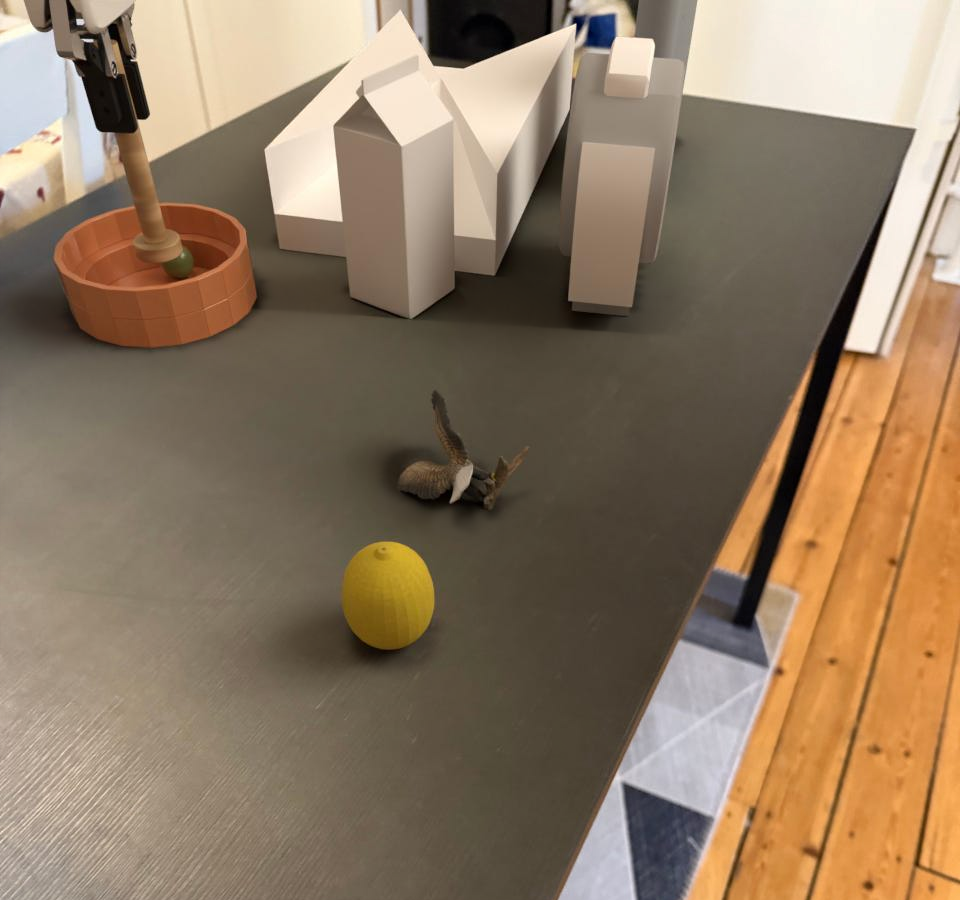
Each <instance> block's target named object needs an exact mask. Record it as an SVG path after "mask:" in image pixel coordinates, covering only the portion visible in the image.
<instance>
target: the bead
mask: <svg viewBox="0 0 960 900" xmlns="http://www.w3.org/2000/svg"><path fill="white" fill-rule="evenodd" d="M182 248H183V251H182V253H181V255H179V256H178V257H177V258H175V259H173V260H170V261H167V262H161V265H162V268H163V269H164V271H165V272H166V273H167V274H168V275H170V276H171V277H174V278H185V277H187V276H188V275H190V274H191V272H192V270H193V268H194V258H193V255H192V253H191V252H190V251H189V250H188V249H187V248H186V247H185V246H183V245H182Z"/></svg>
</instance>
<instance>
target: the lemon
mask: <svg viewBox="0 0 960 900" xmlns="http://www.w3.org/2000/svg"><path fill="white" fill-rule="evenodd" d="M433 582H434V581H433V580H432V576H431V573H430V571H429V568H428V566H427V564H426V563H425V561H424V559H422V557H421V556H420V555H419V554H418V553H417V552H416V551H415V550H414V549H412V548H410V547H409V546H407V545H405V544H402V543H399V542H395V541H377V542H374V543H371V544H368V545H366V546H365V547H363V548H361V549H360V550H358V552H356V553H355V554H354V555H353V557H352V558H351V559H350V561H349V562H348V564H347V566H346V568H345V570H344V574H343V579H342V584H341V590H340V591H341V593H340V594H341V595H340V596H341V604H342V605H341V606H342V611H343V614H344V618H345V620H346V622H347V624H348V626H349V628H350V630H351V631H352V632H353V633H354V635H356V636H357V638H358V639H360V640H361V641H362V642H363V643H365V644H367V645H369V646H370V647H373V648H376V649H379V650H388V651H390V650H398V649H402V648H405V647H407V646H409V645H412V644H413V643H415V642H416V641H417V640H418V639H419V638H420V637H422V635H424V633H425V632H426V630H427V628H428V627H429V625H430V623H431V621H432V617H433V613H434V609H435V588H434V583H433Z"/></svg>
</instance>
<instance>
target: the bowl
mask: <svg viewBox="0 0 960 900" xmlns="http://www.w3.org/2000/svg"><path fill="white" fill-rule="evenodd" d="M159 205H160V209H161V213H162V217H163V221H164V224H165V228H166V229H169V230H173V231H175V232H177V233H178V234H179V236H180V240H181V244H182V245H183V246H185V247H186V248H187V249H188V250H189V251H190V252H191V253H192V255H193V258H194V268H193V270H192V272H191V274H190V275H188V276H187V277H185V278H174V277H171V276H170V275H168V274H167V273H166V272H165V271H164V269H163V268H162V265H161V263H148V262H144V261H141V260H139V259H138V258H137V256H136V253H135V250H134V246H133V239H134V238H135V237H136V236H137V235H138V234H140V233H142V231H141V227H140V224H139V220H138V216H137V213H136V209H135V206H134V205H132V206H127V207H123V208H118V209H113V210H110V211H107V212H104V213H101V214H99V215H96V216H93V217H91V218H88V219H86V220H84V221H82V222H81V223H79V224H77V225H76V226H74V227H72V228H71V229H69V230H67V232H66V233H65V234H64V235H63V237H61V239H60V240H59V241H58V242H57V243H56V245H55V249H54V253H53V262H54V265H55V268H56V271H57V274H58V277H59V281H60V282H61V285H62V288H63V291H64V294H65V297H66V300H67V302H68V305H69V308H70V311H71V315H72V316H73V318H74V320H75V322H76V324H77V325H78V327H79V329H81V330H82V331H84V332H85V333H86V334H88V335H90V336H91V337H93V338H95V339H96V340H99V341H103V342H105V343H109V344H113V345H117V346H119V347H132V348H145V349H147V348H148V349H153V348H162V347H173V346H181V345H185V344H189V343H193V342H197V341H200V340H204V339H207V338H210V337H213V336H215V335H217V334H219V333H221V332H223V331H226V330H228V329H229V328H231V327H234V326H235V325H236V324H237V323H239V322H240V321H241V320H242V319H243V318H245V316H246V315H248V314H249V313H250V312H251V310H252V308H253V305H254V304H255V302H256V300H257V298H258V294H257V286H256V285H257V284H256V281H255V275H254V274H255V273H254V268H253V262H252V257H251V252H250V251H251V250H250V247H249V241H248V240H249V239H248V235H247V230H246V228H245V226H243V225H242V224H241V222H240V221H239V220H238V219H237V218H236V217H234V216H232V215H230V214H228V213H226V212H224V211H222V210H220V209H217V208H213V207H209V206H204V205H200V204H194V203H183V202H182V203H181V202H159Z"/></svg>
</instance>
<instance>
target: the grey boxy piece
mask: <svg viewBox="0 0 960 900" xmlns="http://www.w3.org/2000/svg"><path fill="white" fill-rule="evenodd" d="M654 50H655V44H654V41H653V39H647V38H634V37H631V36H615V38H614V39H613V41H612V44H611V47H610V50H609V53H597V52H596V53H595V52H585V53H584V54H583V55H582V56H581V57H580V58H579V61H578V65H577V70H576V74H575V80H574V85H573V90H572V91H573V92H572V95H571V102H570V110H569V119H568V126H567V133H566V143H565V151H564V161H563V170H562V181H561V193H560V209H559V227H558V228H559V232H558V238H559V240H558V243H559V247H558V248H559V252H560V254H561V255H562V256H564V257H570V269H569V282H568V283H569V284H568V295H567V296H568V297H567V301H568V302H572V304H571V311H573V312H581V313H591V314H602V315H610V316H611V315H613V316H622V317H629V314H630V308H633V304H634V298H635V290H636V283H637V276H638V269H639V264H642V265H651V264H652V263H654V262H655V260H656V259H657V255H658V250H659V246H660V240H661V233H662V227H663V223H664V217H665V211H666V203H667V197H668V190H669V185H670V178H671V171H672V166H673V159H674V152H675V146H676V138H677V131H678V125H679V119H680V111H681V106H680V105H682V100H681V97H682V98H683V94H682V90H683V91H684V88H683V81H684V72H685V68H684V62H682V61H681V60H679V59H668V58H654ZM684 82H685V81H684Z"/></svg>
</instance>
